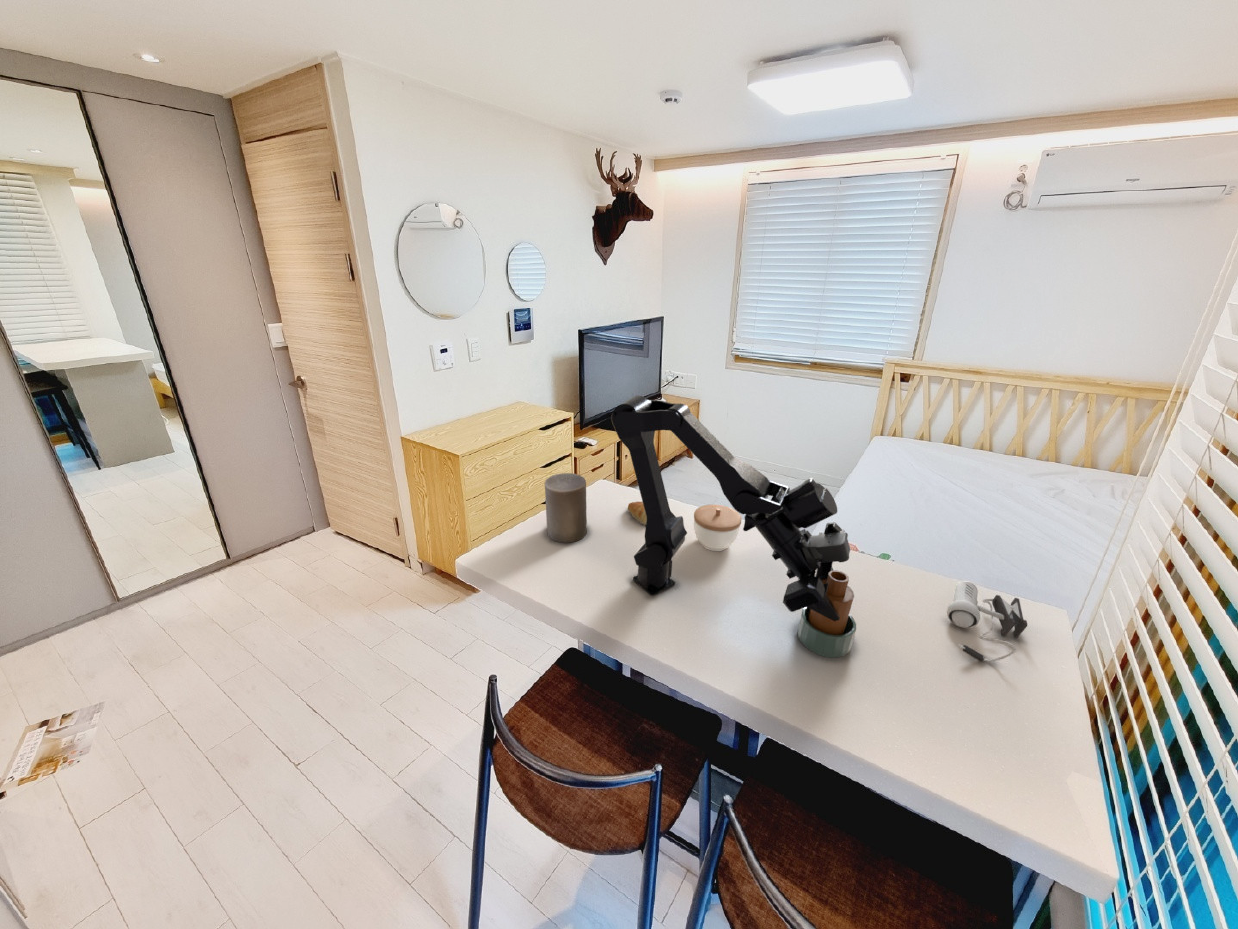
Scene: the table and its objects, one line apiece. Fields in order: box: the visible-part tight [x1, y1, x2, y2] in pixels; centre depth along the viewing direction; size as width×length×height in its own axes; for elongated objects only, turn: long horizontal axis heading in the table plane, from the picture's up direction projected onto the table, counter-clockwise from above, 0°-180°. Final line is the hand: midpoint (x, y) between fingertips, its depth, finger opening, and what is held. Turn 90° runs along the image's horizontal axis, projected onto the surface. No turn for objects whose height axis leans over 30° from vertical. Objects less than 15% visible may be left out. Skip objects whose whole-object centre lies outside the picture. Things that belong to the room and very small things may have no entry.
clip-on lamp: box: [946, 580, 1028, 662], centre depth 91 cm, size 12×6×18 cm
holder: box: [797, 607, 857, 659], centre depth 90 cm, size 9×9×5 cm
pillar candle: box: [544, 472, 588, 544], centre depth 118 cm, size 10×10×15 cm
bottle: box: [808, 569, 855, 636], centre depth 88 cm, size 6×6×13 cm
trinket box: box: [693, 503, 742, 552], centre depth 116 cm, size 11×11×9 cm
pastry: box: [627, 501, 647, 526], centre depth 129 cm, size 9×7×4 cm
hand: (839, 608), depth 87 cm, fingers closed on bottle, 6 cm apart
